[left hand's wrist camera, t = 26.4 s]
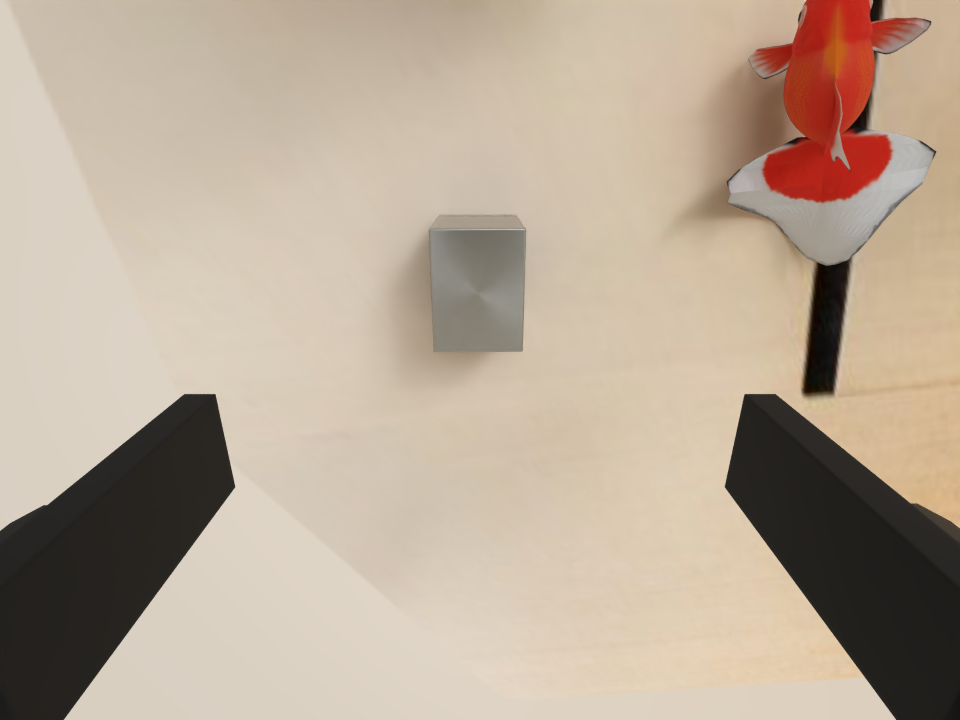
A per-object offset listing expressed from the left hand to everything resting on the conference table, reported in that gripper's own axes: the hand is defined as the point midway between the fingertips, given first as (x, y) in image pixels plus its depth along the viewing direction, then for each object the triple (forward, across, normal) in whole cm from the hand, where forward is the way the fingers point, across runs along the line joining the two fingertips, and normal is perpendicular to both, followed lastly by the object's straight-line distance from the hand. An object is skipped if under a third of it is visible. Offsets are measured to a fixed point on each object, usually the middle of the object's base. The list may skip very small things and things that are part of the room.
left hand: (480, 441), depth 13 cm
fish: (+25, -20, -7) cm, 33 cm away
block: (+25, 0, +1) cm, 25 cm away
